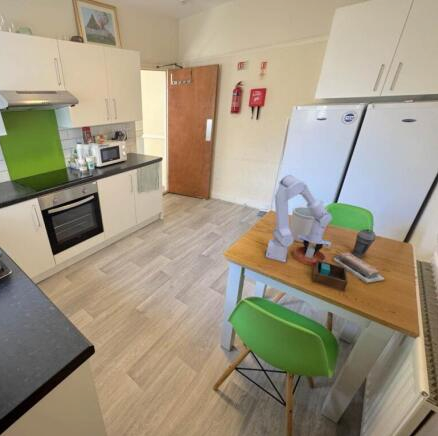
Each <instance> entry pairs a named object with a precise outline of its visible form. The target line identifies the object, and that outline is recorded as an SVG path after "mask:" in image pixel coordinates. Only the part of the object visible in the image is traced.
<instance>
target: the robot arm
mask: <svg viewBox="0 0 438 436" xmlns="http://www.w3.org/2000/svg"><path fill="white" fill-rule="evenodd" d="M298 195H301V196H302V198H303V199H304V200H305V201H306V203H307V204H306V206H307V207H308V209H309V210H310V211H311V213H312V216H313V217H314V220H313V223H312V226H311V229H310V232H309V235H308V236H303V235H298V237H297V240H303V242H302V243H303V244H302V245H303V246H304V249H305V251H304V253H305V254H306V251H307V248H308V245H310V243H311V244H315V245H314V246H315V251H314V254H313V256H314V255H315V254H316V252H317V251H320V250H321V249H323V247H324V246H327V247H328V248H331V246H332V241H329V240H326V239H323V236H324V233H325V231H326V227H327V226H329V224H330V223H331V221H333V216H332V214H331V213H330V212H329V211H328V208H327V207H325V206H324V202H323V201H322V200H321V199H317V198H315V197H314V194H313V193H312V192H311V190H310V188H309V187H308V185H307V184H306V183H305V182H304V181H303V180H300V179H299V178H297V177H295V176H293V175H291V174H287V175H285V176H283V177H282V178H281V179H280V180H279V181H278V187H277V189H276V192H275V194H274V206H275V207H274V208H275V222H276V226H274V227H273V231H272V236H273V239H269V241H268V244H267V248H266V250H265V252H266V253H265V257H266V258H268V259H272V260H276V261H279V262H283V263H286V261H287V255H288V254H287V253H288V250H289V247H290V246H291V245H293V244H294V242H295V240H294V239H293V237H292V233H291V231H290V229H289V226H290V222H289V220H290V219H289V217H290V216H289V200H292V199H293V198H295V197H296V196H298Z"/></svg>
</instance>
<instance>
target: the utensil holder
mask: <svg viewBox="0 0 438 436" xmlns="http://www.w3.org/2000/svg"><path fill="white" fill-rule="evenodd" d="M313 220H314V217H313V216H312V213H311V211H310V210H309V209H308V207H307V205H298V206H295V207H293V208H292V214H291V218H290V222H289V229H290V231H291V233H292V237H293V239H294V241H296V242H299V243H303V240H297V237H298V235H303V236H308V235H309V232H310V229H311V226H312V223H313Z"/></svg>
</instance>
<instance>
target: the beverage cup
mask: <svg viewBox="0 0 438 436" xmlns="http://www.w3.org/2000/svg"><path fill="white" fill-rule="evenodd" d="M374 226H375V223H372V224H371V226H370V228H369V229H368V228H364V229H361V230H359V231H358V233H357V234H356V239H355V243H354V245H353V249H352V255H354V256H355V257H357V258H358V259H363V258H364V256H365V255H366V253H367V252H368V250H369V249H370V247H371V246H372V244H373V243H374V242H375V241H376V238H377V236H376V232H375V231H374V230H372V229H373V227H374Z"/></svg>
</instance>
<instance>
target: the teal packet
mask: <svg viewBox="0 0 438 436" xmlns="http://www.w3.org/2000/svg"><path fill="white" fill-rule="evenodd" d="M329 272H330V265H328V264H324V263H321V266H320V269H319V273H320V274H323V275H327V276H328V274H329Z"/></svg>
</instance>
